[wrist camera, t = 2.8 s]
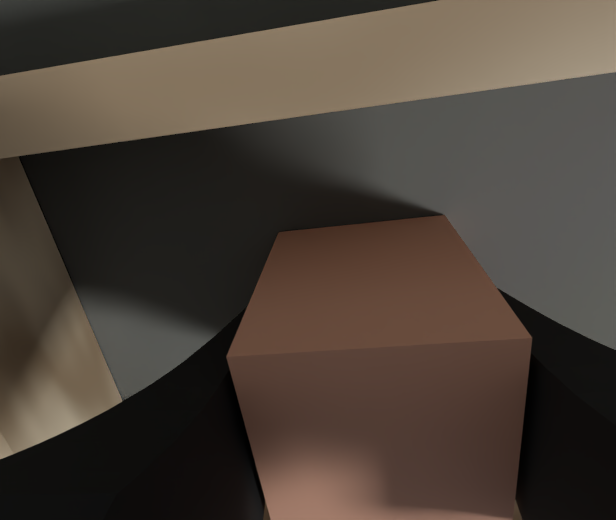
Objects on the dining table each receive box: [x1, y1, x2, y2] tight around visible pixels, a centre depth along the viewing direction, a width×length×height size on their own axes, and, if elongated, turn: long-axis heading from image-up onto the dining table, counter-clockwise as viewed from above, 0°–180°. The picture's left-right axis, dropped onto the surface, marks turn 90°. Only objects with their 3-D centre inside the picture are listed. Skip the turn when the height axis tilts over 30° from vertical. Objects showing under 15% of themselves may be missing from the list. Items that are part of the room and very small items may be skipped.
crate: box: [0, 0, 616, 520], centre depth 10 cm, size 13×18×4 cm
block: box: [226, 215, 532, 520], centre depth 9 cm, size 4×4×6 cm
